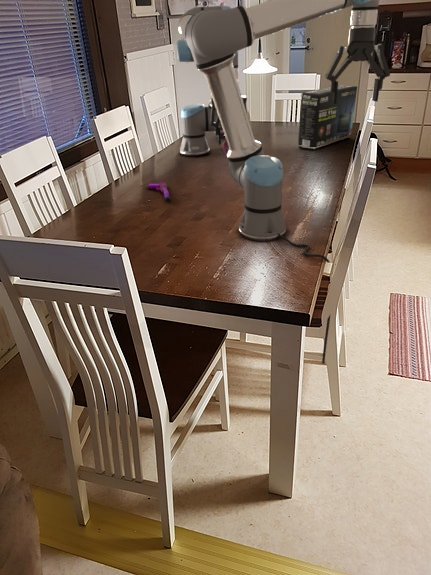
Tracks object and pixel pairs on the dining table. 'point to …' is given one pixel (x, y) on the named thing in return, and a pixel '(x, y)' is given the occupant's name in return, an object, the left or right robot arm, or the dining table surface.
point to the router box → (326, 115)
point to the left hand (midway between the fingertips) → (229, 143)
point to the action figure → (224, 144)
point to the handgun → (162, 188)
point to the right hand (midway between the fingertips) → (354, 102)
